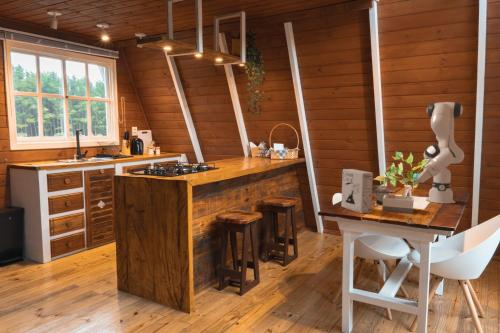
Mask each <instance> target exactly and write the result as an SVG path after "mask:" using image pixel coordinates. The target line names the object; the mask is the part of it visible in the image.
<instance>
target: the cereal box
mask: <svg viewBox="0 0 500 333" xmlns="http://www.w3.org/2000/svg"><path fill="white" fill-rule="evenodd" d="M373 176H374V172H371V171H364V170H361V169H360V170H359V169H355V168H347V169H346V168H343V169H342V177H341V178H342V179H341V180H342V181H341V182H342V183H341V207H342V208H344V209H348V210H350V211H352V212H356V213H360V214H370V213H372V201H373V200H372V199H373V198H372V197H373Z"/></svg>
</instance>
